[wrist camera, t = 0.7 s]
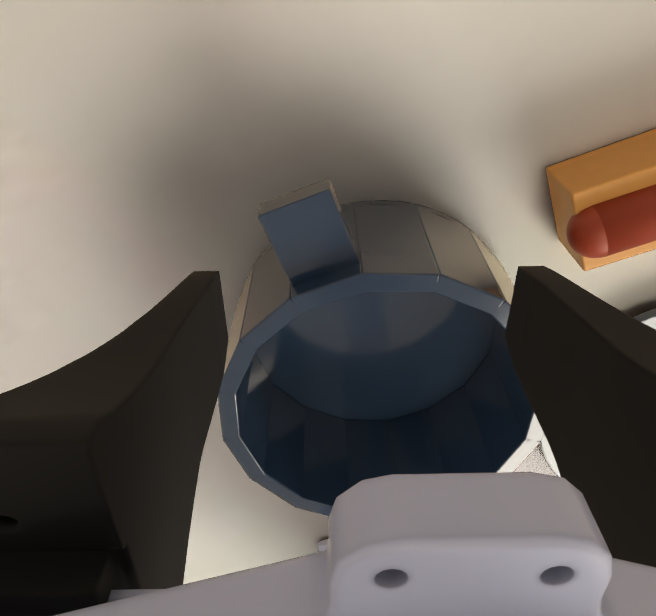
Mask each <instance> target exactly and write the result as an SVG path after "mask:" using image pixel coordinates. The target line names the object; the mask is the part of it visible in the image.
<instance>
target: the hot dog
mask: <svg viewBox="0 0 656 616" xmlns="http://www.w3.org/2000/svg"><path fill="white" fill-rule="evenodd" d="M546 173H547V178H548V184H549V189H550V195H551V201H552V206H553V212H554V217H555V223H556V228H557V234H558V239H559V240H560V242H561V243H562V244H563V245H564V247H565V248H566V249H567V250H568V252H569V253H570V254H571V255H572V257H573V258H574V259H575V260H576V262H577V263H578V264H579V265H580V267H581V268H582V269H583V270H584V271H587V270H590V269H593V268H597V267H600V266H603V265H606V264H609V263H613V262H616V261H619V260H622V259H625V258H628V257H632V256H635V255H638V254H641V253H644V252H647V251H651V250H654V249H656V129H653V130H651V131H648V132H645V133H642V134H639V135H636V136H634V137H631V138H628V139H625V140H622V141H620V142H617V143H614V144H611V145H608V146H605V147H603V148H600V149H597V150H594V151H591V152H588V153H586V154H583V155H580V156H577V157H574V158H572V159H569V160H566V161H563V162H560V163H557V164H555V165H552V166H549V167H547V168H546Z"/></svg>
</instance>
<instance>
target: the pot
mask: <svg viewBox="0 0 656 616" xmlns="http://www.w3.org/2000/svg"><path fill="white" fill-rule="evenodd" d="M258 218H259V220H260V222H261V224H262V226H263V228H264V230H265V232H266V234H267V236H268V238H269V240H270V242H271V244H270V245H269V246H268V248H267V249H266V250H265V251H264V252H263V253H262V254H261V256H260V257H259V259H258V260H257V261H256V263H255V264H254V265H253V267H252V269H251V271H250V273H249V275H248V277H247V279H246V281H245V285H244V288H243V291H242V294H241V296H240V298H239V301H238V303H237V306H236V309H235V313H234V318H233V322H232V326H231V331H230V335H229V340H228V347H227V355H226V363H225V370H224V376H223V379H222V383H221V387H220V390H219V394H218V403H219V412H220V421H221V430H222V437H223V441H224V442H225V444H226V445H227V446H228V448H229V449H230V451H231V452H232V454H233V455H234V456H235V458H236V459H237V461H238V462H239V464H240V465H241V466H242V468H243V469H244V471H245V472H246V474H247V475H248V477H249V478H250V479H252V480H253V481H255V482H256V483H258V484H259V485H261V486H262V487H264V488H266V489H267V490H269V491H270V492H272V493H273V494H275V495H277V496H278V497H280V498H281V499H283V500H284V501H286V502H287V503H289V504H291V505H292V506H294V507H296V508H300V509H304V510H307V511H311V512H315V513H318V514H322V515H326V516H329V515H330V512H331V510H332V507H333V505H334V502H335V500H336V497H338V496H339V495H341V494H342V493H344V492H345V491H347V490H348V489H350V488H351V487H353V486H354V485H356V484H357V483H359V482H360V481H362V480H365V479H371V478H376V477H381V476H386V475H391V474H444V473H501V472H514V471H515V470H516V469H517V468H518V466H519V465H520V464H521V463H522V462H523V461H524V460H525V459H526V458H527V457H528V455H529V454H530V453H531V452H532V451H533V450H534V449H535V448H536V447H537V446H538V444H539V443H540V442H541V441H542V438H543V435H544V432H543V430H542V428H541V426H540V424H539V422H538V420H537V418H536V415H535V413H534V411H533V409H532V407H531V405H530V403H529V401H528V399H527V396H526V394H525V392H524V390H523V388H522V386H521V383H520V381H519V379H518V377H517V375H516V372H515V370H514V367H513V364H512V361H511V357H510V354H509V350H508V347H507V343H506V339H505V331H506V326H507V321H508V316H509V311H510V306H511V301H512V296H513V291H514V286H513V284H512V282H511V280H510V278H509V277H508V275H507V273H506V271H505V270H504V268H503V266H502V265H501V264H500V262H499V261H498V260H497V259H496V258H495V257H494V256H493V254H492V253H491V252H490V250H489V249H488V248H487V246H486V245H485V244H484V242H483V241H482V240H480V239H479V238H478V237H477V236H476V235H475V234H474V233H473V232H472V231H471V230H470V229H468V228H467V227H465V226H464V225H463V224H461V223H460V222H458V221H457V220H455V219H453V218H451V217H449V216H447V215H445V214H443V213H441V212H439V211H436V210H433V209H430V208H427V207H424V206H421V205H416V204H411V203H407V202H400V201H387V200H376V201H361V202H355V203H349V204H343V205H340V203H339V201H338V198H337V196H336V193H335V191H334V188H333V186H332V183H331V181H330V179H325V180H322V181H320V182H317V183H314V184H312V185H309V186H307V187H304V188H301V189H299V190H296V191H293V192H291V193H288V194H285V195H283V196H280V197H277V198H275V199H272V200H269V201H267V202H264V203H262V204H260V209H259V213H258Z"/></svg>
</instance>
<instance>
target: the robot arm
mask: <svg viewBox="0 0 656 616" xmlns="http://www.w3.org/2000/svg"><path fill="white" fill-rule="evenodd" d="M505 339H506V343H507V347H508V350H509V354H510V357H511V361H512V364H513V367H514V370H515V372H516V375H517V377H518V379H519V381H520V383H521V386H522V388H523V390H524V392H525V394H526V396H527V399H528V401H529V403H530V405H531V407H532V409H533V411H534V413H535V415H536V418H537V420H538V422H539V424H540V426H541V428H542V430H543V432H544V435H545V437H546V439H547V441H548V443H549V446H550V448H551V451H552V453H553V455H554V458H555V461H556V464H557V467H558V470H559V473H560V476H561V477H557V476H551V475H545V474H539V473H534V472H501V473H444V474H391V475H386V476H381V477H376V478H371V479H365V480H362V481H360V482H359V483H357V484H356V485H354V486H353V487H351V488H350V489H348V490H347V491H345V492H344V493H342V494H341V495H339V496H338V497H336V500H335V502H334V505H333V507H332V510H331V512H330V515H329V517H328V526H329V539H326V540H322V541H320V542H319V543H318V553H314V554H310V555H306V556H301V557H297V558H293V559H289V560H285V561H280V562H276V563H272V564H268V565H264V566H259V567H255V568H251V569H247V570H243V571H238V572H234V573H230V574H226V575H222V576H217V577H213V578H209V579H205V580H201V581H196V582H192V583H188V584H184V585H183V579H184V571H185V563H186V555H187V547H188V539H189V532H190V525H191V518H192V511H193V504H194V497H195V491H196V485H197V478H198V472H199V466H200V461H201V456H202V452H203V448H204V444H205V440H206V437H207V433H208V430H209V426H210V423H211V419H212V416H213V412H214V408H215V405H216V401H217V398H218V394H219V390H220V387H221V383H222V379H223V376H224V370H225V363H226V355H227V347H228V334H227V326H226V319H225V311H224V304H223V296H222V289H221V281H220V274H219V271H194V272H193V273H191V274H190V275H189V276H188V277H187V278H186V279H184V280H183V281H182V282H181V283H180V284H179V285H178V286H177V287H176V288H175V289H174V290H172V291H171V292H170V293H169V294H168V295H167V296H166V297H165V298H163V299H162V300H161V301H160V302H159V303H158V304H157V305H155V306H154V307H153V308H152V309H151V310H150V311H148V312H147V313H146V314H145V315H143V316H142V317H141V318H139V319H138V320H137V321H136V322H134V323H133V324H132V325H130V326H129V327H128V328H127V329H125V330H124V331H123V332H121V333H120V334H118V335H117V336H115V337H114V338H113V339H111V340H110V341H108V342H106V343H105V344H103V345H102V346H100V347H98V348H97V349H95V350H94V351H92V352H90V353H88V354H87V355H85V356H83V357H81V358H79V359H77V360H75V361H73V362H72V363H70V364H68V365H66V366H64V367H62V368H60V369H58V370H56V371H54V372H52V373H50V374H48V375H46V376H43V377H41V378H39V379H37V380H34V381H32V382H30V383H27V384H25V385H22V386H20V387H17V388H15V389H12V390H10V391H7V392H4V393H2V394H0V616H656V329H654V328H652V327H650V326H648V325H646V324H644V323H642V322H640V321H638V320H636V319H635V318H633V317H631V316H629V315H627V314H625V313H623V312H622V311H620V310H618V309H616V308H615V307H613V306H611V305H609V304H608V303H606V302H604V301H603V300H601V299H599V298H598V297H596V296H594V295H593V294H591V293H589V292H588V291H586V290H585V289H583V288H581V287H580V286H578V285H576V284H575V283H573V282H572V281H570V280H568V279H567V278H565V277H563V276H562V275H560V274H558V273H556V272H555V271H553V270H551V269H549V268H547V267H545V266H518V271H517V276H516V281H515V286H514V291H513V296H512V301H511V306H510V311H509V316H508V321H507V326H506V331H505Z"/></svg>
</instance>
